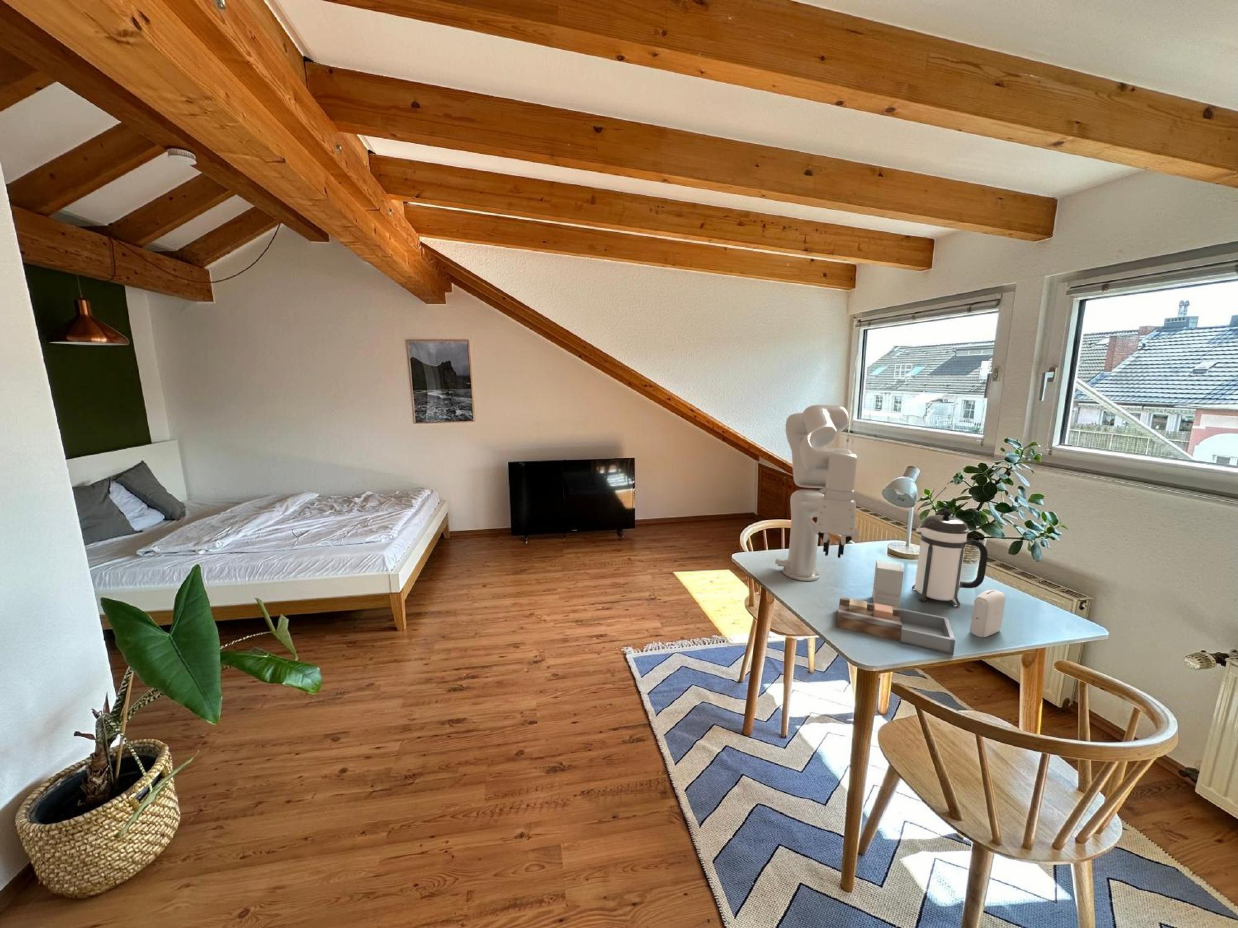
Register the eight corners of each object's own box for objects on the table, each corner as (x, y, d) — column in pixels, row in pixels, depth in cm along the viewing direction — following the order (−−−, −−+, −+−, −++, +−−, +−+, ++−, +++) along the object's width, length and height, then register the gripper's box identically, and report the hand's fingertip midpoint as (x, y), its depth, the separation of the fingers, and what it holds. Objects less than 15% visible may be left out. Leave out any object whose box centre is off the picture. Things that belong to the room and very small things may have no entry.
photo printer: (983, 639, 135) (990, 597, 133) (967, 632, 138) (973, 591, 136) (1002, 631, 140) (1009, 590, 137) (986, 624, 143) (992, 585, 141)
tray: (900, 642, 132) (902, 628, 131) (897, 620, 144) (899, 608, 144) (953, 654, 127) (955, 640, 126) (945, 630, 139) (947, 617, 138)
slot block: (836, 626, 140) (838, 612, 139) (838, 609, 151) (840, 596, 150) (900, 640, 133) (902, 625, 132) (897, 622, 143) (899, 607, 143)
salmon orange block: (873, 619, 139) (874, 609, 138) (873, 612, 143) (874, 603, 142) (891, 622, 137) (892, 612, 136) (890, 616, 141) (892, 606, 140)
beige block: (848, 613, 142) (849, 604, 141) (849, 607, 146) (850, 598, 145) (865, 617, 140) (866, 607, 139) (865, 611, 144) (866, 601, 143)
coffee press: (945, 612, 150) (958, 519, 145) (898, 591, 165) (909, 506, 160) (981, 604, 156) (995, 514, 151) (933, 584, 171) (945, 502, 166)
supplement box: (897, 600, 158) (901, 563, 156) (899, 609, 151) (904, 571, 149) (871, 595, 161) (875, 559, 159) (872, 605, 154) (877, 567, 152)
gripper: (807, 493, 141) (802, 554, 144) (870, 501, 133) (863, 564, 136) (810, 489, 147) (805, 547, 150) (870, 495, 140) (863, 556, 143)
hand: (832, 554), depth 143 cm, fingers open, 2 cm apart
